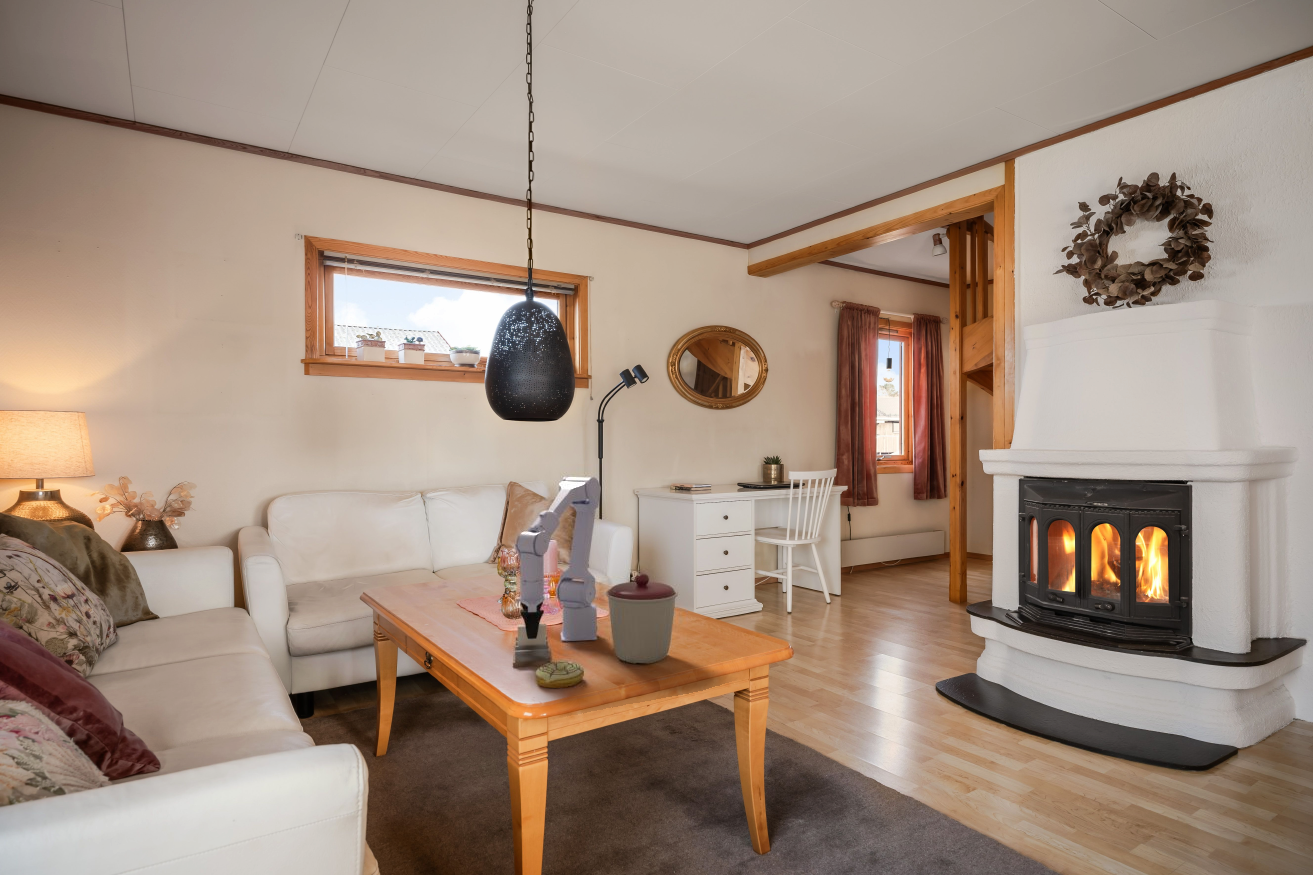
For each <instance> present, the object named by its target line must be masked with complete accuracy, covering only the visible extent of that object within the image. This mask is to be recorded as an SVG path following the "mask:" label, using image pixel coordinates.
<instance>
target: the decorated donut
mask: <svg viewBox="0 0 1313 875" xmlns="http://www.w3.org/2000/svg"><path fill="white" fill-rule="evenodd" d="M534 674H535V679H536V683H537V685H538V686H539V687H541V686H543V688H547V687H548V689H559V688H561V687H562V689H564V687H565V688H569V687H573V686H575V685H577V684H578V683H579V684H580V682H581V681H582V679H583V678H584V675H585V669H584V667H583V666H582V665H581V664H579V663H577V662H574V661H571V660H556V661H551V663H547V664H545V665H543V666H539V667H538V668H537V669H536V671H535V673H534ZM568 686H569V687H568Z"/></svg>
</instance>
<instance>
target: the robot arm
mask: <svg viewBox="0 0 1313 875" xmlns="http://www.w3.org/2000/svg"><path fill="white" fill-rule="evenodd" d="M560 481H561V482H560V483H559V484H558V494H557V495H556V496H555V498H554V500H553V502H552V504H550V507H549V508H548V510H543V511H541V512H540V513H539V514H538V516H537V517H536V519H535V520H534V521H533V523H532V524H531V525H530V527H529V528H528V529H527V530H525V531H523V532H521V533H520V534H519V535H518V536H517V538H516V543H515V545H514V546H515V551H516V553H517V555H518V557H517V559H518V561H519V562H520V567H519V568H520V576H519V577H520V581H519V582H520V584H519V585H520V592H519V593H520V595H519V596H516V597H515V602H520V605H521V608H522V609H520V616H521V617H522V619H523V623H524V625H525V627H526V633H527V638H528V639H536V638H537V634H538V628H539V624H541V623H540V622H541V619H542V617H543V615H544V612H545V610H544V609H541V608H542V606H543V604H544V602H545V595H544V594H545V593H544V592H545V591H544V582H545V580H544V576H545V575H544V569H545V568H544V566H545V565H544V563H545V562H544V561H545V559H544V556H545V554H546V553H547V552H548V549H549V545H550V542H551V540H552V539H551V537H552V536H553V534H554V533H555V532H556V530H557V529H558V527H559V526H560V523H561V522H560V517H561V516H562V515H563V514H564V513H565V512H566V511H567V509H569V507H571V508H574V510H575V512H576V515H575V520H574V521H575V523H574V529H573V534H572V535H573V537H572V543H571V549H570V550H571V551H570V557H569V565H568V568H567V569H566V570H565V571H563V572H561V574H560V575H559V580H558V583H557V585H556V588H555V596H556V599H557V600H558V601H559V602H560V604H559V605H560V606H562V631H561V632H560V634H559V635H560V640H561V642H579V641H597V639H598V637H597V636H598V634H597V632H598V617H597V615H598V614H597V613H598V612H597V605H596V604H592V603H593V602H594V600H595V598H596V591H597V590H596V578H595V576H594V575H593V574H592V573H591V572H590V571H589V569H588V568H589V564H590V563H589V562H590V555H591V548H592V540H593V533H594V525H595V517H596V512H597V509H598V508H599V503H600V498H601V490H602V487H601V485H600V482H599V481H598V479H597V477H595V476H591V477H586V476H585V477H584V476H582V477H581V476H568V475H567V476H564V477H563V478H562V480H560Z"/></svg>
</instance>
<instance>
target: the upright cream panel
mask: <svg viewBox="0 0 1313 875" xmlns="http://www.w3.org/2000/svg"><path fill="white" fill-rule="evenodd" d="M546 636H547V624H546V623H539V628H538V634H537V638H536V639H528V638H527V633H526V627H525V624H518V625H517V637H518V642H517V646H524V645H546Z"/></svg>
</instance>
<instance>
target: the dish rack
mask: <svg viewBox="0 0 1313 875" xmlns="http://www.w3.org/2000/svg"><path fill="white" fill-rule="evenodd" d="M517 642H518V636H516V637H515V645H514V646H513V652H512V653H513V656H512V668H520V667H521V668H522V667H523V668H524V667H525V668H526V667H541V666H543V665H545V664H547V663H551V662H552V658H551V657H552V656H551V650H550V644H549V640H548V635H546V645H524V646H517Z"/></svg>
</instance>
